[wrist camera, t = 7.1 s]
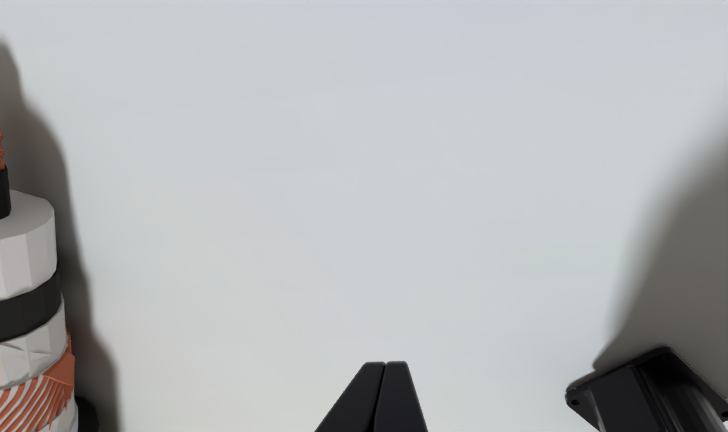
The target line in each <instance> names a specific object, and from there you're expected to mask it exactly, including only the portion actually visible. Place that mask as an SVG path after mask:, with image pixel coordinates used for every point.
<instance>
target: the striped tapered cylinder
mask: <svg viewBox="0 0 728 432" xmlns="http://www.w3.org/2000/svg"><path fill="white" fill-rule="evenodd" d="M2 138H3V137H2V133H1V130H0V143H1V141H2ZM3 155H4V151H3V149H2V147H1V146H0V432H99V422H98V418H97V415H96V411H95V408H94V407H93V406H92V405H91V404H90V403H89V402H88V401H87V400H86V399H85V398H83V397H80V396H77V395H74V388H75V386H74V364H75V357H74V356H73V355H72V354H71V338H70V333H69V332H68V330H67V327H65V311H64V298H63V294H62V291H61V285H60V266H59V261H58V257H57V253H56V235H55V217H54V208H53V207H52V206H51V204H50V203H49V201H48V200H46V199H43V198H40V197H36V196H33V195H29V194H26V193H23V192H19V191H16V190H12V189H9V181H8V171H7V167H6V165H5V164H4V162H3V160H2V158H3Z"/></svg>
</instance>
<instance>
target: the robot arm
mask: <svg viewBox="0 0 728 432" xmlns="http://www.w3.org/2000/svg"><path fill="white" fill-rule="evenodd" d="M663 356H665V357H663ZM565 400H566V403H567V405H568V406H569V407H570V408H571V409H573V410H574V411H575V412H576V413H578V414H579V415H580V416H581V417H582V418H584V419H585V420H586V421H587V422H589V423H590V424H591V425H592V426H593V427H595V428H596V429H597V430H598V431H600V432H728V430H727V429H726V427H725V426H724V424H723V422H725V421H728V401H727V400H726V399H725V398H724V397H723V396H722V395H721V394H720V393H719V392H718V391H717V390H716V389H714V388H713V387H712V386H711V385H710V384H709V383H708V382H707V381H706V380H705V379H704V378H703V377H702V376H701V375H699V374H698V373H697V372H696V371H695V370H694V369H693V368H692V367H691V366H690V365H689V364H688V363H687V362H686V361H684V360H683V359H682V358H681V357H680V356H679V355H678V354H677V353H676V352H675V351H674V350H673V349H671V348H670V347H660V348H657V349H655V350H653V351H651V352H649V353H647V354H645V355H643V356H641V357H639V358H637V359H635V360H632V361H630V362H628V363H626V364H624V365H622V366H620V367H618V368H616V369H614V370H612V371H610V372H608V373H606V374H604V375H602V376H600V377H598V378H596V379H594V380H592V381H590V382H588V383H586V384H584V385H582V386H580V387H578V388H576V389H574V390H572V391H570V392H568V393H566V395H565ZM315 432H428V430H427V426H426V423H425V420H424V416H423V413H422V410H421V407H420V403H419V400H418V397H417V394H416V390H415V387H414V384H413V381H412V377H411V374H410V371H409V367H408V365H407V363H406V362H405V361H390V362H387V364H386V363H384V362H367V363H365V364H364V365H363V366H362V367H361V369H360V370H359V371H358V373H357V374H356V375H355V377H354V378H353V380H352V381H351V382H350V384H349V385H348V386H347V388H346V389H345V391H344V392H343V393H342V395H341V396H340V397H339V399H338V400H337V402H336V403H335V404H334V406H333V407H332V408H331V410H330V411H329V412H328V414H327V415H326V417H325V418H324V419H323V421H322V422H321V423H320V425H319V426H318V428H317V429H316V430H315Z"/></svg>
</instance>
